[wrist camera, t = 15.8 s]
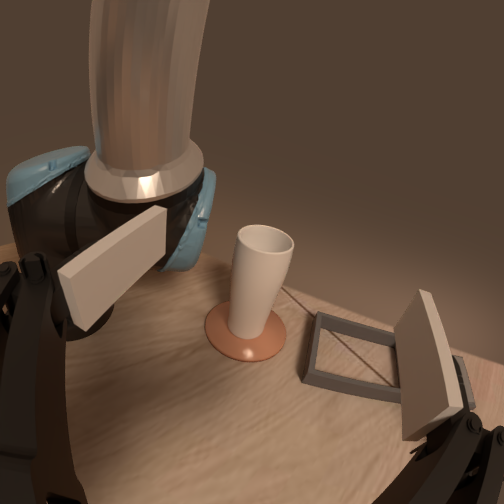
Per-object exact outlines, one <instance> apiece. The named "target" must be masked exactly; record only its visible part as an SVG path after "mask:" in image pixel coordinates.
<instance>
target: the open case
mask: <svg viewBox="0 0 504 504" xmlns="http://www.w3.org/2000/svg"><path fill="white" fill-rule="evenodd" d="M320 328H323V329H327V330H330V331H334V332H337V333H341V334H344V335H348V336H351V337H355V338H359V339H362V340H366V341H370V342H374V343H378V344H382V345H385V346H389V347H393V348H395V354H396V362H397V370H398V380H399V388H394V387H388V386H383V385H378V384H373V383H368V382H364V381H359V380H355V379H350V378H346V377H342V376H338V375H334V374H330V373H326V372H322V371H318V370H314V369H315V363H316V356H317V350H318V343H319V335H320ZM452 356H454V357H455V358H456V360H457V362H458V364H459V365H460V369H461V373H462V377H463V381H464V384H463V385H465V389H466V394H467V399H468V404H469V409H470V410H473V409H475V408H476V405H475V401H474V397H473V392H472V389H471V385H470V381H469V377H468V374H467V370H466V367H465V364H464V361H463V357H460V356H455V355H452ZM302 383H304V384H308V385H312V386H316V387H320V388H324V389H328V390H332V391H336V392H341V393H345V394H350V395H355V396H360V397H365V398H370V399H376V400H381V401H387V402H394V403H400V404H401V389H400V377H399V367H398V358H397V350H396V342H395V335H394V333H392V332H388V331H385V330H381V329H377V328H374V327H370V326H367V325H363V324H360V323H356V322H353V321H349V320H346V319H342V318H339V317H335V316H332V315H329V314H325V313H322V312H319V311H318V312H317V314H316V316H315V318H314V320H313V323H312V329H311V335H310V341H309V347H308V352H307V357H306V363H305V368H304V373H303V378H302Z"/></svg>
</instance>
